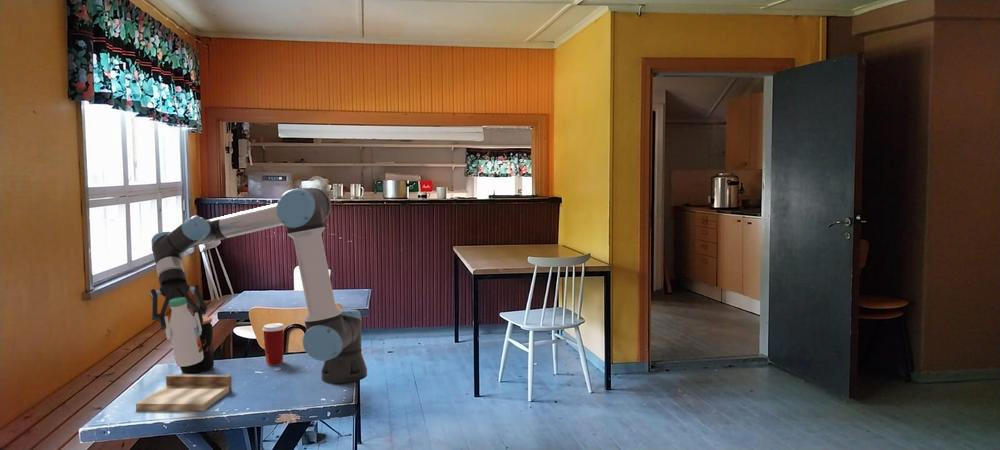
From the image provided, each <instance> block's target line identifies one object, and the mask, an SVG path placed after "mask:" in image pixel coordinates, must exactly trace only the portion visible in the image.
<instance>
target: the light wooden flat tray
mask: <svg viewBox="0 0 1000 450" xmlns="http://www.w3.org/2000/svg"><path fill="white" fill-rule="evenodd" d="M165 381H166V382H165V384H166V385H165V386H163V387H161V388H160V389H158V390H156V391H154V392H153V393H151V394H149V395H148V396H146V397H145V398H143V399H141V400H139V401H138V402H136V403H135V410H136V411H159V412H160V411H165V412H166V411H171V412H172V411H174V412H177V411H178V412H180V411H181V412H204V411H206V410H207V409H208V408H210V407H211V406H213V405H214V404H215V403H216V402H218V401H220V399H222V398H224V397H225V396H226V395H227V394H229V393H230V392H232V390H233V389H232V388H233V387H232V374H180V373H179V374H176V373H175V374H173V373H172V374H167V375H166V376H165Z"/></svg>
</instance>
